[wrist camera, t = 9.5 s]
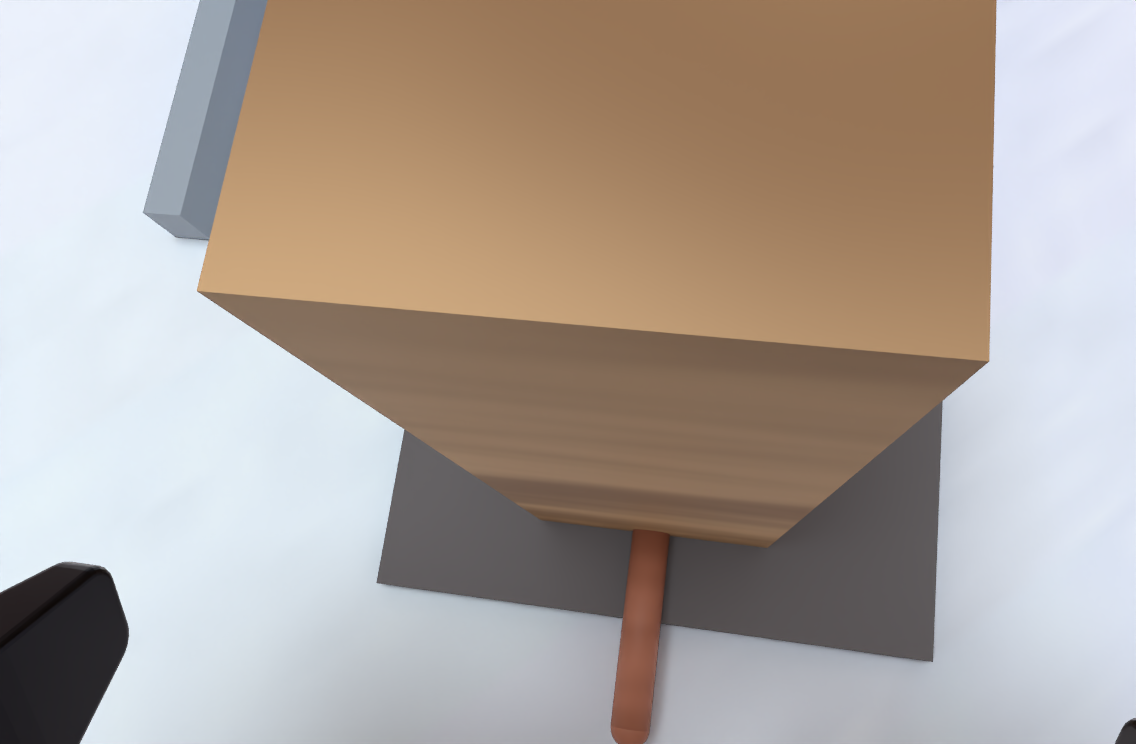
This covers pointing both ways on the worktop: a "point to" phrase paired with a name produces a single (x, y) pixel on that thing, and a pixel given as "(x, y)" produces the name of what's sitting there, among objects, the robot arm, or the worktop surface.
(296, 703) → the worktop surface
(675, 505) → the oak block
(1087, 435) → the worktop surface
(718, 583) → the mat
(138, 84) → the worktop surface
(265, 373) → the worktop surface
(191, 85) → the lane rack
